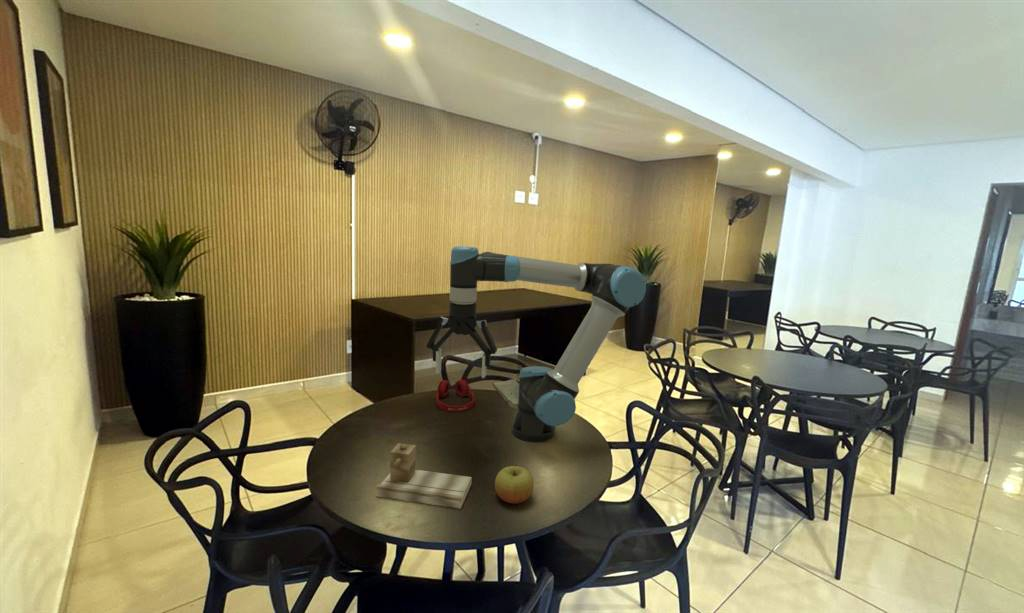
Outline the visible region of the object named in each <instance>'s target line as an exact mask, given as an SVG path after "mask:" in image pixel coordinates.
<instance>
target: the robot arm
mask: <svg viewBox="0 0 1024 613" xmlns="http://www.w3.org/2000/svg"><path fill="white" fill-rule="evenodd" d="M449 267H450V268H449V269H450V271H449V278H450V279H449V301H450V302H449V306H448V307H449V308H448V310H449V311H448V312H449V313H448V316H449V317H448V318H447V317H445V316H443V315H442V316H440V317H438V319H437V325H436V327H435V329H434V331H433V332H432V335H431V336H430V338H429V340H428V342H427V344H426V348H427V349H430V350H432V362H435V374H440V373H441V371H442V349H441V348H440V347H441V346H443V344H444V343H445V342H446V341H447V340H448V339H449V338H450V337H451V335H453V334H455V335H458V336H459V335H463V336H467V335H469V336H470V337H471V338H472V339H473V341H474V342H475V343H476V344H477V346H478V347H479V348H480V350H481V352H483V355H482V356H481V357H482V359H481V363H482V364H481V378H482V379H485V377H486V376H487V367H489V366H490V364H491V355H495V354H496V353H497V352H498V348H497V346H496V343H495V341H494V339H493V337H492V335H491V332H490V330H489V328H488V320H486V319H483V320H477V303H476V302H477V298H478V297H477V294H478V289H477V288H478V282H504V283H509V282H510V283H511V282H512V283H513V282H517V281H521V282H527V283H528V282H529V283H535V284H536V283H537V284H543V285H552V286H558V287H566V288H567V287H568V288H573V289H574V290H575V291H577V292H580V293H581V292H582V293H586V294H590V295H591V301H592V305H591V306H590V308H589V310H588V312H587V313H586V315H585V316H584V318H583V320H582V321H581V323H580V324H579V326H578V328H577V330H576V332H575V333H574V335H573V336H572V338H571V340H570V342H569V343H568V345H567V346H566V348H565V350H564V352H563V354H562V355H561V357H560V358H559V360H558V361H557V364H556V365H555V367H554V369H553V368H550V367H548V366H547V367H546V366H538V365H534V366H527V367H523V368H521V370H520V372H519V377H518V379H519V381H518V383H519V396H518V409H516V410H517V411H516V413H515V416H514V417H513V421H512V423H511V433H512V435H513V436H514V437H516V438H517V439H520V440H522V441H526V442H531V443H540V442H541V443H542V442H547V441H550V440H552V439H553V438H554V437H555V435H556V427H558V426H561V425H565V424H567V423H568V422H569V421H570V420H571V419H573V417H574V415H575V413H576V409H577V406H576V400H575V399H576V398H577V397H578V394H579V392H580V388H579V383H580V381H581V379H582V378H583V376H584V374H585V373H586V371H587V369H588V367H590V365H591V362H593V359H594V358H595V357H596V354H597V352H598V351H599V349H600V348H601V346H602V344H603V342H604V341H605V339H606V338H607V335H609V332H610V331H611V329H612V327H613V326H614V324H615V322H616V321H617V319H618V318H619V317H620V318H621V317H623V316H624V317H625V315H626V314H627V312H628V311H629V309H630V308H632V307H635V306H637V305H639V304H640V303H641V302H642V301H643V299H644V298H645V294H646V290H647V286H646V280H645V277H644V276H643V274H642V272H640V271H639V270H638V269H636V268H633V267H630V266H627V265H619V264H613V263H588V262H579V263H578V264H572V263H566V262H558V261H552V260H545V259H544V260H543V259H539V258H538V259H537V258H531V257H530V258H529V257H523V256H516V255H509V254H502V253H496V252H491V251H484V252H480V253H479V248H477V247H475V246H457V245H456V246H453V247H452V249H451V253H450V262H449ZM446 324H448V325H449V329H448V330H447V331H446V333H445V334H444V335H443V336H442V337H441V338H440V339H439V340H438V341H437V343H436V344H435V342H436V340H437V338H438V336H439V335H440V332H441V331H442V329H443V327H444V326H445V325H446ZM477 326H478V328H479V329H480V330H481V332H482V335H483V337H484V339H485V340H486V341H484V340H483V338H482V337H481V336H480V334H479V333H478V331H477V329H476V327H477Z"/></svg>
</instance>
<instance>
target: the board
mask: <svg viewBox="0 0 1024 613" xmlns="http://www.w3.org/2000/svg"><path fill="white" fill-rule="evenodd" d="M472 480H473V477H471V476H466V475H460V474H459V475H457V474H450V473H443V472H436V471H435V472H434V471H427V470H423V469H421V470H420V469H416V470H415V474H414V475H413V477H412V478H411V480H410V481H409V483H406V482H399V481H392V480H390V473H388V475H387V476H386V477H385V479H384V480H382V482H381V483H378V484H377V485H376V497H379V498H384V499H392V500H396V501H397V500H399V501H405V502H411V503H419V504H426V505H433V506H439V507H446V508H453V509H458V510H459V509H462V507H463V504H464V502H465V500H466V497H467V495H468V493H469V491H470V488H471V486H472V482H473V481H472Z"/></svg>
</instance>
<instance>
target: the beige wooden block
mask: <svg viewBox="0 0 1024 613" xmlns="http://www.w3.org/2000/svg"><path fill="white" fill-rule="evenodd" d="M416 449H417V446H416V445H415V444H408V443H399V442H398V443H397V444H396V445H395V446H394V447H393V449H392V450H391V451H390V452H389V453H390V460H389V461H390V465H389V467H390V471H389V472H390V473H389V474H390V480H392V481H399V482H406V483H409V481H410V480H411V478H412V477H413V475H414V474H415V470H417V469H416V466H417V465H416V463H417V461H416V459H417V457H416V456H417V454H416V453H417V450H416Z"/></svg>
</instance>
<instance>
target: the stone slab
mask: <svg viewBox="0 0 1024 613" xmlns="http://www.w3.org/2000/svg"><path fill="white" fill-rule="evenodd" d="M492 387H493V389H494V390H496V391H497V393H498V394H499V395H500V396H501V397H502V398H503V400H504V401H505V402H506V403H507V405H508V406H509V407H510V408H511V409H512V408H513V410H514V409H515V410H518V396H519V381H517V380H516V379H513V378H512V379H509V380H504V381H495V382H492ZM511 393H512V394H511Z"/></svg>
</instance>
